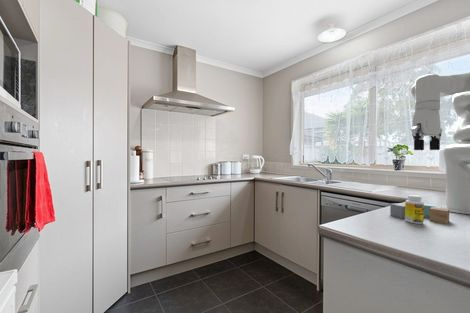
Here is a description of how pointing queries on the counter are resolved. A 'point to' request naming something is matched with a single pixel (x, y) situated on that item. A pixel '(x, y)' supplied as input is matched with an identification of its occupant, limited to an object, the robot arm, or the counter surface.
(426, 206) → the teal block
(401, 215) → the gray block
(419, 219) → the supplement bottle
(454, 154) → the robot arm
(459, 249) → the counter surface
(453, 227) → the counter surface
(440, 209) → the walnut block
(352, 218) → the counter surface
